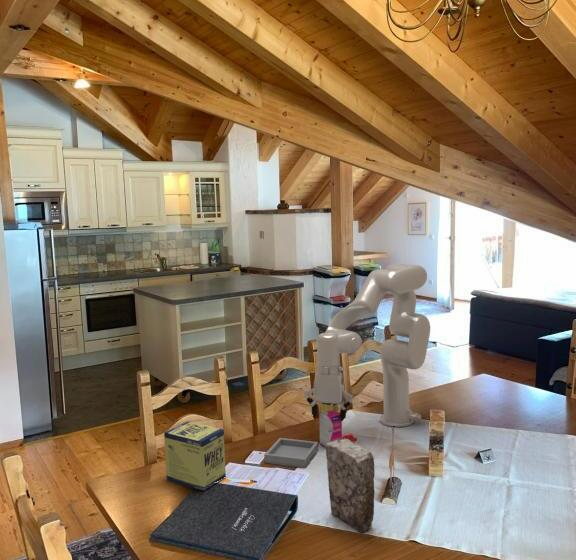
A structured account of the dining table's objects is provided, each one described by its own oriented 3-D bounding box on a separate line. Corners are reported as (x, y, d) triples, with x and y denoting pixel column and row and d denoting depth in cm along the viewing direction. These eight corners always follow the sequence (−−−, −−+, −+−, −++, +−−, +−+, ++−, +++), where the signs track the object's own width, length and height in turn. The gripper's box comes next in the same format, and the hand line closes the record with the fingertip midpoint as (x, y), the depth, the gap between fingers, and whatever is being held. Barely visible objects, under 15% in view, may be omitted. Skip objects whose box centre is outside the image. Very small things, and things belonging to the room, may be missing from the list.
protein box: (204, 492, 161) (202, 441, 159) (165, 480, 169) (162, 431, 168) (227, 477, 170) (224, 428, 168) (189, 466, 178) (186, 420, 176)
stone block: (324, 515, 147) (322, 442, 144) (343, 505, 151) (341, 435, 149) (361, 536, 136) (359, 458, 134) (380, 525, 141) (379, 450, 138)
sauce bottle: (337, 433, 200) (336, 380, 198) (320, 433, 202) (318, 380, 199) (339, 427, 207) (338, 375, 205) (322, 426, 208) (321, 375, 206)
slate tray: (318, 450, 187) (318, 442, 187) (305, 468, 174) (305, 459, 174) (280, 445, 192) (279, 437, 192) (264, 462, 179) (264, 454, 179)
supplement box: (328, 450, 187) (327, 417, 186) (319, 444, 192) (318, 412, 191) (342, 446, 190) (342, 414, 188) (333, 440, 195) (332, 409, 193)
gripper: (356, 368, 188) (356, 417, 190) (307, 364, 194) (308, 412, 196) (350, 374, 181) (350, 424, 183) (300, 370, 187) (301, 419, 189)
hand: (328, 418), depth 189 cm, fingers open, 9 cm apart
